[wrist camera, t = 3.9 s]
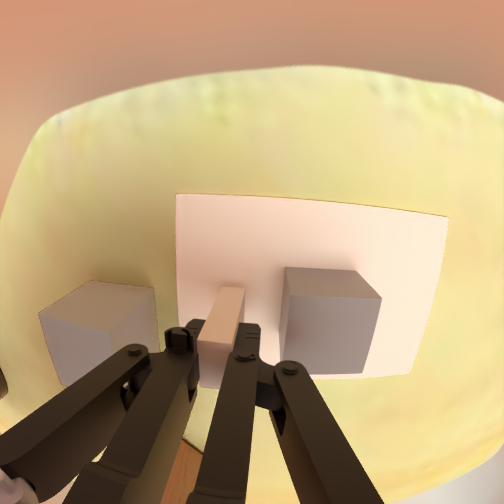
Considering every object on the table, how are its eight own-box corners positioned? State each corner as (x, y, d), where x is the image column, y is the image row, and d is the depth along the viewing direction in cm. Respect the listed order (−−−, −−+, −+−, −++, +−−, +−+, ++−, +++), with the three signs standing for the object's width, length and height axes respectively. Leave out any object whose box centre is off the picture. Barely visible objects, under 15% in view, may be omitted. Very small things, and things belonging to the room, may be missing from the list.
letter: (183, 366, 21) (182, 368, 21) (177, 193, 18) (176, 193, 18) (407, 371, 20) (409, 373, 20) (446, 217, 17) (448, 217, 17)
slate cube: (102, 341, 21) (61, 384, 15) (91, 279, 20) (38, 313, 13) (160, 353, 21) (127, 407, 14) (154, 287, 20) (107, 331, 13)
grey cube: (278, 332, 20) (280, 374, 15) (285, 266, 18) (290, 294, 14) (344, 333, 19) (362, 373, 14) (356, 270, 18) (382, 298, 13)
